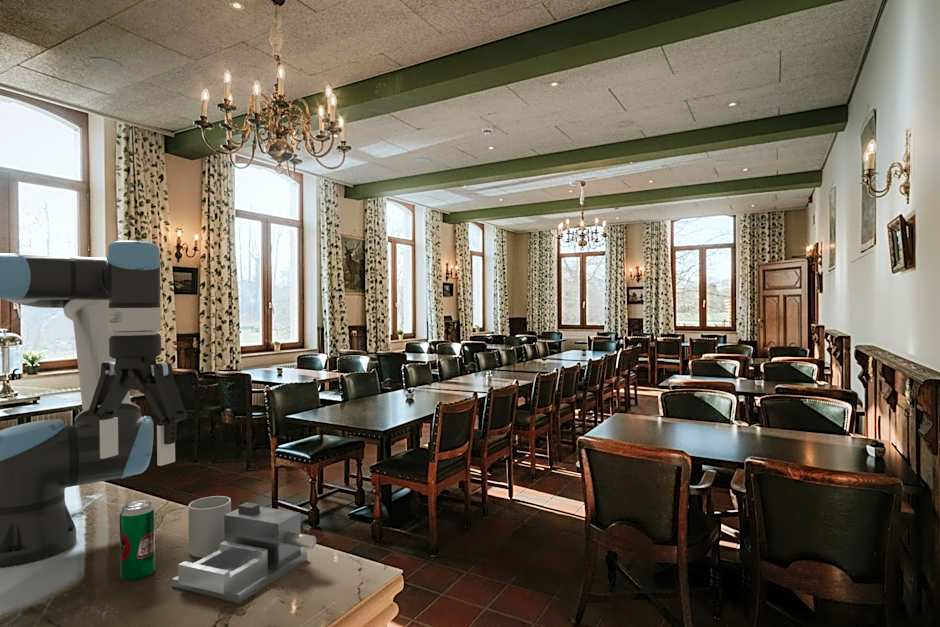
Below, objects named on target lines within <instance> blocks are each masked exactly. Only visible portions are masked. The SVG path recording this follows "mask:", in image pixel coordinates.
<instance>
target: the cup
mask: <svg viewBox="0 0 940 627" xmlns="http://www.w3.org/2000/svg"><path fill="white" fill-rule="evenodd" d="M187 507H188V508H187V509H188V510H187V511H188V513H187V514H188V515H187V517H188V520H187V521H188V553H189V555H190V556H192V557H194V558H204V557H206V556H208V555H210V554H212V553H214V552H216V551H218V550H219V544H220V543H222V542H224V515H225V514H227V513H230V512H232V499H231V498H230V497H229V496H223V495H214V496H213V495H212V496H206V497H201V498H198V499H195V500H192V501H191V502H190V503H189V504H188V506H187Z"/></svg>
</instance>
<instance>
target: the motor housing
mask: <svg viewBox="0 0 940 627" xmlns="http://www.w3.org/2000/svg"><path fill="white" fill-rule="evenodd" d="M316 545H317V537H316V536H315V535H310V534H304V533H301V512H298V511H293V510H287V509H279V508H278V509H277V508H273V507H265V506H261V505H260V503H254V502H247V501H246V502H244V503H242V504H239V505H238V508H236V509H234V510H231V512H230V513H227V514H225V515H224V542H222V543H220V544H219V550H218V551H216V552H214V553H212V554H210V555H208V556H206V557H201V559H199V560H197V561H194V562H190V561H187V560H185V561H183V562H179V563H178V564H177V567H178V568H177V574H178V575H177V576H174V577H173V578H171V587H172V588H176V589H180V590H183V591H187V592H192V593H196V594H201V595H203V596H208V597H211V598H217V599H219V600H224V601H229V602H232V603H236V604H241V603H242V602H244V601H245V600H247V599H249V598H250V597H252V596H253V595H255V594H256V593H258V592H259V591H261V590H264V588H266V587H267V586H269V585H271V584H272V583H274V582H276V581H277V580H278V579H280V578H282V577H284V576H285V575H286V574H288V573H290V572H291V571H292V569H293V570H294V569H296V568H297V567H299V566H300V565H302V564H304V562H307V561H308V551H306V550H302V548H306V549H314V548H315V546H316ZM270 583H271V584H270Z"/></svg>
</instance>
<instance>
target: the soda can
mask: <svg viewBox="0 0 940 627" xmlns="http://www.w3.org/2000/svg"><path fill="white" fill-rule="evenodd" d="M155 511H156V509H155V506H153V502H152V501H149V500H138V501H137V500H136V501H132V502H129V503H126V504H125V505H123V506H122V507H121V511H120V512H119V572H120V574H119V575H120V578H121V580H123V581H127V582H131V581H138V580H143V579H145V578H148V577H149V576H151V575H153V574H154V572H155V570H156V523H155V521H156V518H155V517H156V516H155V515H156V514H155Z"/></svg>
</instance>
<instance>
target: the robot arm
mask: <svg viewBox="0 0 940 627" xmlns="http://www.w3.org/2000/svg"><path fill="white" fill-rule="evenodd" d="M107 250H108V251H107V256H106V257H93V256H92V257H91V256H73V255H72V256H71V255H70V256H69V255H68V256H66V255H65V256H64V255H52V254H51V255H50V254H33V253H31V254H29V253H21V252H10V253H6V252H4V253H3V252H0V300H4V301H7V302H10V303H13V304H16V305H17V304H18V305H21V306H22V305H23V306H27V307H34V308H40V309H41V308H44V309H45V308H47V309H48V308H50V309H52V308H53V309H63V314H64V316H65V317H66V318H67V319H69V320H70V321H72V322H73V330H74V331H73V332H74V341H75V342H74V343H75V349H76V350H75V352H76V360H77V369H78V378H79V379H78V381H79V387H80V396H81V406H82V410H81V411H80V412H79V413H78V414H77V415H76V416H75V418H74V424H72V425H66V423H65V422H64V420H63V419H61V418H52V419H46V420H45V419H42V420H41V419H40V420H35V421H31V422H26V423H22V424H18V425H14V426H11V427H6V428H4V429H1V430H0V569H3V568H4V569H5V568H12V567H18V566H23V565H29V564H31V563H35V562H39V561H42V560H45V559H49V558H51V557H54V556H56V555H59V554H62V553H63V552H65V551H66V550H69V549H70V548H72V546H74V545H75V544H76V542H77V527H76V525H75V523H74V520H73V518H72V516H71V513H70V511H69V509H68V506H67V504H66V494H65V491H66V490H65V489H67V488H70V487H71V488H72V487H76V486H82V485H88V484H95V483H100V482H105V481H111V480H117V479H121V480H122V479H125V478H127V477H132V476H135V475H140V474H142V473H144V472H145V471H146V470H147V469H148V467H149V465H150V463H151V458H152V456H153V455H152V454H153V445H154V421H153V418H152V416H150V415H149V416H148V415H144V416H142V410H141V407H140V406H139V405H137V403H136V404H135V403H133V402H132V401H131V400H132V399H131V393H130V390H134V391H138V392H139V393H141V394H143V395H144V397H145V398H146V400H147V401H148V404H149V405H150V406H151V408H152V410H153V411H154V414H155V415H156V417H157V418H158V420H159V422H158V424H157V425H156V445H157V446H156V450H157V451H156V453H157V455H156V457H157V459H156V461H157V462H156V463H157V464H156V465H157V466H159V467H161V466H165V465H168V464H172V463H176V443H177V440H178V435H177V434H178V433H177V432H178V429H177V428H178V427H177V426H178V422H180V421H182V420H186V419H187V418H188V413H187V410H186V407H185V405H184V403H183V400H182V398H181V395H180V391H179V389H178V387H177V383H176V382H175V378H174V375H173V365H172V364H171V362H160V363H157V357H159V356H161V355H162V336H161V335H160V334H158V332H160V331H162V309H161V266H162V261H161V256H160V255H161V254H160V248H159V246H158V245H157V244H155V243H153V242H149V241H143V240H142V241H138V240H116V241H112V242H110V243H109V245H108V249H107Z"/></svg>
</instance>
